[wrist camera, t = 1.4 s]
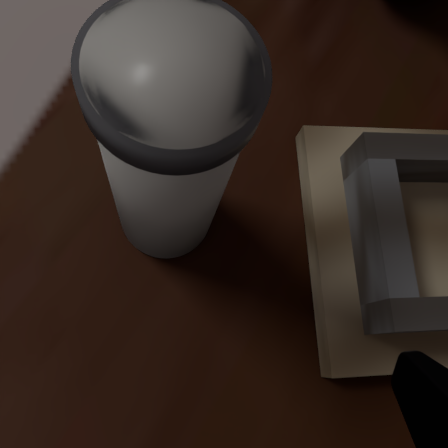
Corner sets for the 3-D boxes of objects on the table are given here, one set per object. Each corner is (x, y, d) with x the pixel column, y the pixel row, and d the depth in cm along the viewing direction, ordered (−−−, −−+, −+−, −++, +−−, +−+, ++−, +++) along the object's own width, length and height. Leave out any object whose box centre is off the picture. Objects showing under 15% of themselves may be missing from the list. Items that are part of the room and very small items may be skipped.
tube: (216, 261, 24) (280, 158, 11) (115, 263, 23) (65, 154, 10) (212, 170, 25) (264, -7, 13) (117, 169, 24) (76, -22, 12)
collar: (551, 362, 25) (633, 364, 20) (321, 376, 23) (359, 382, 18) (496, 143, 29) (555, 106, 24) (295, 137, 27) (321, 96, 22)
